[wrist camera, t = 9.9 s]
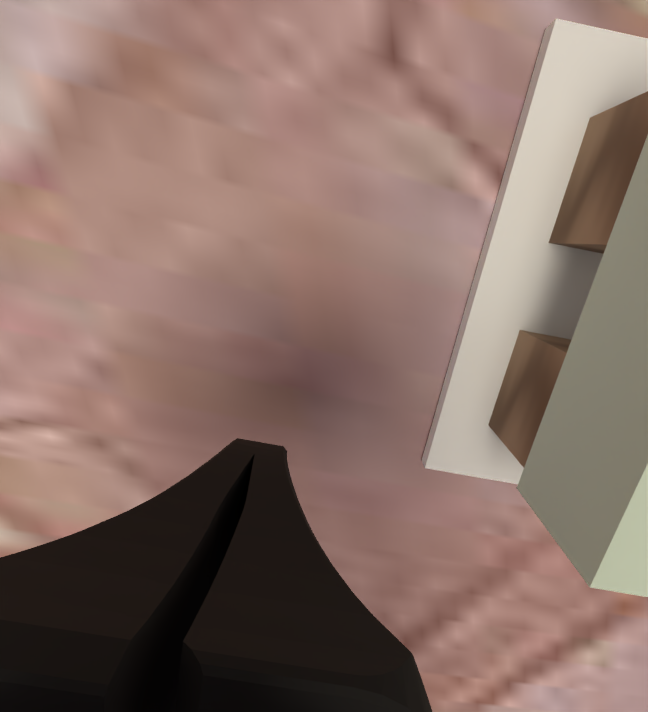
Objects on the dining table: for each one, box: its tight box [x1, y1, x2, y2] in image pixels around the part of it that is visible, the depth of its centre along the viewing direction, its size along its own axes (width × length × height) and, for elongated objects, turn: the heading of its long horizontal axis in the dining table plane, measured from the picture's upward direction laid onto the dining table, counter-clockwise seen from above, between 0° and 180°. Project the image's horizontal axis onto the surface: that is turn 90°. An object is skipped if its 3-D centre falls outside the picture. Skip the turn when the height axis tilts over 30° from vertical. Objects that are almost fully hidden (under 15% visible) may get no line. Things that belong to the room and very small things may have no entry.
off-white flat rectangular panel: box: [422, 19, 648, 484], centre depth 19 cm, size 20×10×1 cm, turn 169°
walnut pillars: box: [488, 91, 648, 467], centre depth 17 cm, size 14×5×4 cm, turn 169°
